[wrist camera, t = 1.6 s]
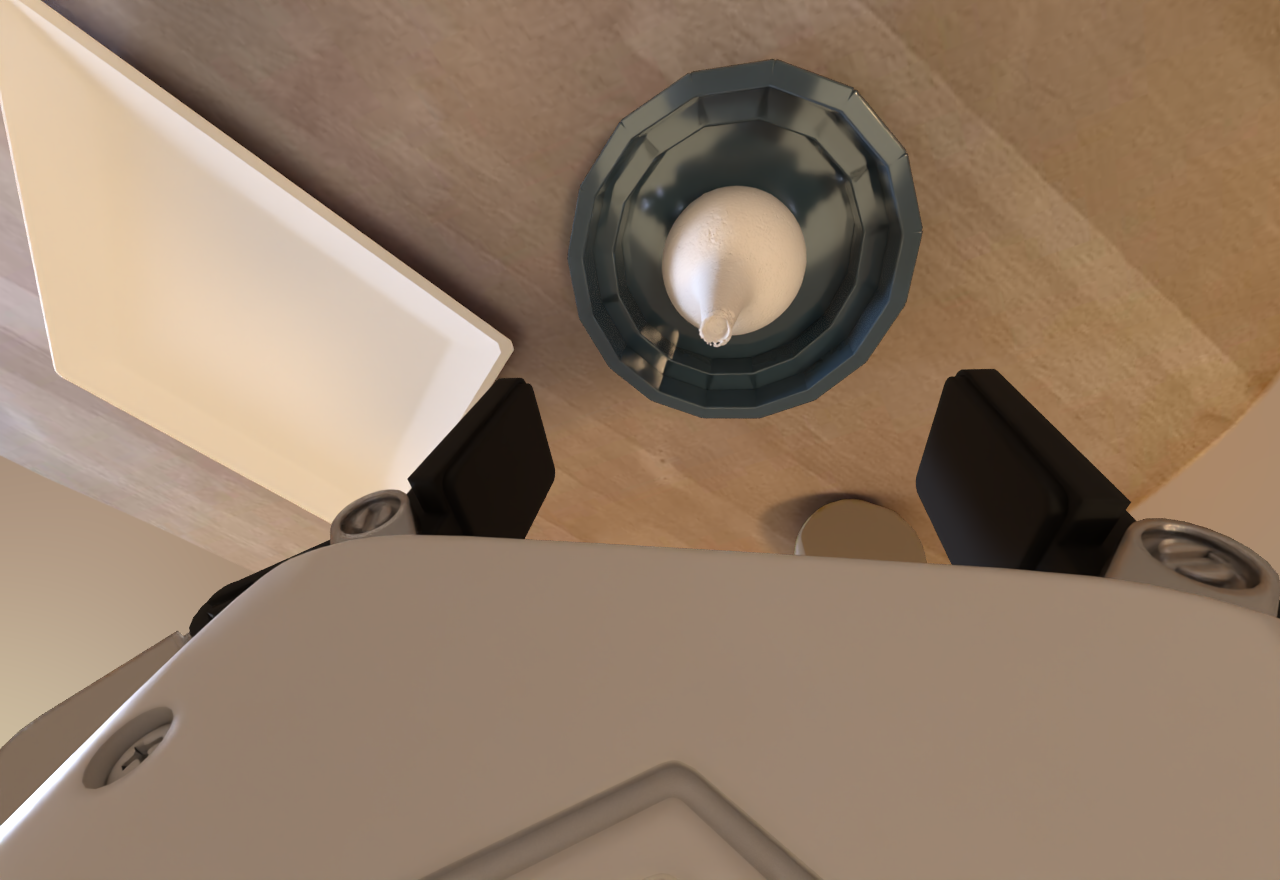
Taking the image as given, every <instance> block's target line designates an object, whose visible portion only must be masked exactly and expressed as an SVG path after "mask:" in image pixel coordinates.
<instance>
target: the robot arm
mask: <svg viewBox="0 0 1280 880" xmlns="http://www.w3.org/2000/svg"><path fill="white" fill-rule="evenodd" d="M554 478H555V467H554V463H553V460H552V456H551V452H550V449H549V445H548V441H547V438H546V434H545V431H544V427H543V423H542V420H541V416H540V412H539V409H538V405H537V401H536V398H535V394H534V390H533V388H532V386H531V385H530V384H526V382H525V381H524V379H522V378H499V379H498V380H497V381H496V382H495V383H494V384H493V385H492V386H491V387H490V388H489V389H488V391H487V392H486V393H485V394H484V395H483V396H482V397H481V398H480V399H479V400H478V402H477V403H476V404H475V405H474V406H473V407H472V408H471V409H470V410H469V411H468V413H467V414H466V415H465V416H464V417H463V418H462V419H461V420H460V421H459V422H458V423H457V425H456V426H455V427H454V428H453V429H452V430H451V431H450V432H449V433H448V434H447V436H446V437H445V438H444V439H443V440H442V441H441V442H440V443H439V444H438V445H437V447H436V448H435V449H434V450H433V451H432V452H431V453H430V454H429V455H428V456H427V458H426V459H425V460H424V461H423V462H422V463H421V464H420V465H419V466H418V467H417V469H416V470H415V471H414V472H413V473H412V474H411V475H410V476H409V477H408V478H407V480H408V482H409V483H410V485H411V487H412V488H411V489H410V490H409V492H408V493H407V494H406V493H404V492H402V491H400V490H394V489H388V490H380V491H377V492H373V493H370V494H367V495H365V496H363V497H361V498H359V499H357V500H355V501H354V502H352V503H350V504H349V505H347V506H346V507H345V508H344V509H343V510H342V511H340V512H339V513H338V515H337V516H336V517H335V519H334V520H333V522H332V525H331V529H330V540H328V541H326V542H324V543H322V544H319V545H317V546H315V547H313V548H310V549H308V550H306V551H304V552H301V553H299V554H297V555H295V556H292V557H290V558H288V559H286V560H284V561H281V562H279V563H277V564H275V565H272V566H270V567H268V568H266V569H263V570H261V571H259V572H257V573H254V574H252V575H250V576H248V577H245V578H243V579H241V580H239V581H236V582H233V583H231V584H228V585H227V586H225V587H223V588H222V589H220V590H219V591H217V592H216V593H215V594H214V595H213V596H212V597H211V598H210V599H209V600H208V601H207V603H205V604H204V605H203V606H202V607H201V608H200V610H199V611H198V613H197V614H196V615H195V616H194V617H193V620H192V622H191V625H190V627H189V629H190V632H189V633H188V634H186V635H184V636H183V635H182V634H181V633H180V632H179V631H176V632H175V633H173V634H171V635H170V636H168V637H166V638H165V639H163V640H162V641H160V642H159V643H157V644H155V645H154V646H152V647H150V648H149V649H147V650H145V651H144V652H142V653H141V654H139V655H138V656H136V657H134V658H133V659H131V660H129V661H128V662H126V663H125V664H123V665H121V666H120V667H118V668H117V669H115V670H113V671H112V672H110V673H108V674H107V675H105V676H104V677H102V678H100V679H99V680H97V681H96V682H94V683H92V684H91V685H89V686H88V687H86V688H84V689H83V690H81V691H79V692H78V693H76V694H75V695H73V696H71V697H70V698H68V699H66V700H65V701H63V702H62V703H60V704H58V705H57V706H55V707H54V708H52V709H50V710H49V711H47V712H45V713H44V714H42V715H41V716H39V717H38V718H37V719H35V720H34V721H32V722H31V723H30V724H28V725H27V726H25V727H24V728H22V729H21V730H20V731H19V732H18V733H17V734H15V735H14V736H13V737H12V738H11V739H10V740H9V741H8V742H7V743H6V744H5V745H4V746H3V747H2V748H1V749H0V880H1280V600H1279V598H1280V580H1279V576H1278V574H1277V573H1276V571H1275V570H1274V569H1273V568H1272V567H1271V565H1270V564H1269V563H1268V562H1267V561H1266V560H1265V559H1263V558H1262V557H1261V556H1259V555H1258V554H1257V553H1255V552H1254V551H1253V550H1251V549H1250V548H1248V547H1246V546H1244V545H1243V544H1241V543H1239V542H1237V541H1235V540H1234V539H1232V538H1230V537H1228V536H1225V535H1223V534H1221V533H1218V532H1215V531H1213V530H1211V529H1208V528H1205V527H1202V526H1198V525H1195V524H1191V523H1188V522H1184V521H1178V520H1171V519H1163V518H1152V519H1150V518H1149V519H1143V520H1140V521H1136V520H1135V519H1134V518H1133V517H1132V516H1131V515H1130V514H1129V513H1128V512H1127V511H1126V509H1127V507H1128V506H1129V504H1130V503H1131V502H1130V501H1129V500H1128V499H1127V498H1126V497H1125V496H1124V495H1123V494H1122V493H1121V492H1120V491H1119V490H1118V489H1117V488H1116V487H1115V486H1114V485H1113V484H1112V483H1111V482H1110V481H1109V480H1108V479H1107V478H1106V477H1105V476H1104V475H1103V474H1102V473H1101V472H1100V471H1099V470H1098V469H1097V468H1096V467H1095V466H1094V465H1093V464H1092V463H1091V462H1090V461H1089V460H1088V459H1087V458H1086V457H1085V456H1084V455H1083V454H1081V453H1080V452H1079V451H1078V450H1077V449H1076V448H1075V447H1074V446H1073V445H1072V444H1071V443H1070V442H1069V441H1068V440H1067V439H1066V438H1065V437H1064V436H1063V435H1062V434H1061V433H1060V432H1059V431H1058V430H1057V429H1056V428H1055V427H1054V426H1053V425H1052V424H1051V423H1050V422H1049V421H1048V420H1047V419H1046V418H1045V417H1044V416H1043V415H1042V414H1041V413H1040V412H1039V411H1038V410H1037V409H1036V408H1035V407H1034V406H1033V405H1032V404H1031V403H1030V402H1029V401H1028V400H1026V399H1025V398H1024V397H1023V396H1022V395H1021V394H1020V393H1019V392H1018V391H1017V390H1016V389H1015V388H1014V387H1013V386H1012V385H1011V384H1010V383H1009V382H1008V381H1007V380H1006V379H1005V378H1004V377H1003V376H1002V375H1001V374H1000V373H999V372H998V371H997V370H995V369H971V370H960V371H959V372H958V373H957V374H956V376H955V377H949V378H948V379H947V380H946V382H945V385H944V388H943V391H942V394H941V398H940V401H939V404H938V408H937V411H936V414H935V417H934V421H933V424H932V427H931V430H930V434H929V437H928V440H927V443H926V447H925V450H924V453H923V457H922V460H921V463H920V466H919V470H918V473H917V477H916V489H917V493H918V495H919V497H920V499H921V501H922V503H923V505H924V507H925V510H926V512H927V514H928V516H929V518H930V520H931V522H932V524H933V526H934V528H935V531H936V533H937V535H938V537H939V539H940V541H941V543H942V545H943V547H944V549H945V551H946V554H947V556H948V558H949V560H950V562H951V564H952V565H946V564H931V563H915V562H900V561H884V560H868V559H853V558H837V557H820V556H804V555H787V554H770V553H754V552H737V551H721V550H704V549H687V548H670V547H652V546H635V545H618V544H601V543H585V542H567V541H548V540H530V539H525V537H526V535H527V533H528V531H529V529H530V527H531V525H532V523H533V521H534V519H535V517H536V515H537V513H538V511H539V509H540V507H541V505H542V503H543V501H544V499H545V497H546V495H547V493H548V491H549V489H550V487H551V485H552V483H553V481H554Z"/></svg>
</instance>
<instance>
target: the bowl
mask: <svg viewBox="0 0 1280 880" xmlns="http://www.w3.org/2000/svg"><path fill="white" fill-rule="evenodd" d="M727 186H747V187H752V188H757V189H760V190H762V191H765V192H767V193H769V194H772V195H773V196H774V197H776V198H777V199H778V200H780V201H781V202H782V203H783V204H784V205H785V206H786V207H787V208H788V209H789V210H790V212H791V213H792V214H793V215H794V217H795V218H796V220H797V222H798V224H799V226H800V228H801V231H802V233H803V237H804V241H805V245H806V261H807V262H806V267H805V273H804V277H803V281H802V284H801V287H800V289H799V291H798V293H797V295H796V297H795V298H794V300H793V301H792V303H791V304H790V305H789V307H788V308H787V309H786V310H785V311H784V312H783V313H782V314H781V315H780V316H779V317H778V318H776V319H775V320H774V321H773V322H771V323H770V324H768V325H766V326H764V327H762V328H760V329H758V330H756V331H753V332H750V333H746V334H741V335H732V336H731V339H730V340H729V342H727V344H725V345H721V346H719V347H714V343H713V342H711V344H712V345H711V346H710V343H708V344H707V342H705V341H704V339H703V338H702V339H701V336H700V335H699V333H700V331H699V328H697V327H695V326H694V325H692V324H691V323H689V322H688V321H687V320H686V319H684V318H683V317H682V316H681V315H680V314H679V312H678V311H677V310H676V308H675V307H674V305H673V304H672V302H671V300H670V298H669V296H668V294H667V291H666V288H665V285H664V281H663V274H662V257H663V250H664V246H665V242H666V239H667V236H668V234H669V232H670V230H671V228H672V226H673V224H674V222H675V221H676V219H677V218H678V216H679V215H680V214H681V213H682V212H683V211H684V210H685V209H686V207H687V206H688V205H689V204H690V203H691V202H693V201H694V200H696V199H697V198H699V197H701V196H702V195H703V194H704V193H707V192H709V191H712V190H715V189H717V188H722V187H727ZM922 228H923V227H922V222H921V217H920V212H919V207H918V202H917V197H916V192H915V187H914V182H913V177H912V172H911V167H910V162H909V157H908V154H907V153H906V149H905V148H904V147H903V146H902V144H901V143H900V142H899V141H898V139H897V138H896V137H895V136H894V135H893V133H892V132H891V131H890V130H889V129H888V127H887V126H886V125H885V124H884V122H883V121H882V120H881V119H880V118H879V116H878V115H877V114H876V113H875V111H874V110H873V109H872V108H871V107H870V105H869V104H868V103H867V102H866V101H865V99H864V98H863V97H862V96H861V94H860V93H859V92H858V91H857V90H855V89H854V88H853V87H851V86H848V85H846V84H843V83H840V82H838V81H835V80H832V79H829V78H827V77H824V76H821V75H819V74H816V73H813V72H811V71H808V70H805V69H802V68H800V67H797V66H794V65H792V64H789V63H786V62H783V61H781V60H778V59H777V60H774V59H770V60H763V61H757V62H750V63H744V64H737V65H731V66H725V67H718V68H712V69H705V70H699V71H693V72H691V73H687V74H686V75H685V76H683V77H682V78H680V79H679V80H677V81H676V82H675V83H673V84H672V85H670V86H669V87H667V88H666V89H665V90H663V91H662V92H660V93H659V94H657V95H656V96H655V97H653V98H652V99H650V100H649V101H647V102H646V103H645V104H643V105H642V106H640V107H639V108H637V109H636V110H635V111H633V112H632V113H630V114H629V115H627V116H626V117H625V118H623V119H622V120H621V122H619V124H618V125H617V127H616V128H615V130H614V132H613V133H612V135H611V137H610V138H609V140H608V141H607V143H606V145H605V146H604V148H603V150H602V151H601V153H600V154H599V156H598V158H597V159H596V161H595V162H594V164H593V166H592V167H591V169H590V171H589V172H588V174H587V175H586V177H585V179H584V180H583V182H582V184H581V185H580V189H579V192H578V198H577V203H576V209H575V215H574V221H573V226H572V232H571V238H570V244H569V249H568V258H567V259H568V264H569V269H570V274H571V279H572V284H573V289H574V295H575V300H576V305H577V310H578V315H579V318H580V321H581V322H582V324H583V326H584V327H585V329H586V331H587V332H588V334H589V335H590V337H591V339H592V340H593V342H594V344H595V345H596V347H597V348H598V350H599V352H600V353H601V355H602V357H603V358H604V360H605V361H606V363H607V365H608V366H609V367H610V369H612V370H613V371H614V372H615V373H617V374H618V375H619V376H621V377H622V378H623V379H624V380H626V381H627V382H628V383H629V384H631V385H632V386H633V387H634V388H636V389H637V390H638V391H640V392H641V393H642V394H643V395H645V396H646V397H647V398H648V399H650V400H651V401H652V400H653V401H654V402H656V403H659V404H662V405H665V406H668V407H671V408H674V409H677V410H680V411H683V412H686V413H689V414H692V415H694V416H697V417H700V418H762V417H765V416H768V415H772V414H775V413H778V412H781V411H784V410H787V409H790V408H793V407H796V406H799V405H802V404H805V403H808V402H811V401H814V400H816V399H817V398H819V397H820V396H821V395H823V394H824V393H825V392H827V391H828V390H829V389H831V388H832V387H833V386H835V385H836V384H837V383H839V382H840V381H842V380H843V379H844V378H846V377H847V376H848V375H850V374H851V373H852V372H854V371H855V370H856V369H858V368H859V367H860V366H862V365H863V364H865V363H866V361H867V360H868V359H869V357H870V356H871V354H872V353H873V352H874V350H875V349H876V347H877V346H878V344H879V343H880V341H881V340H882V338H883V337H884V335H885V334H886V332H887V331H888V330H889V328H890V327H891V325H892V324H893V322H894V321H895V319H896V318H897V316H898V315H899V313H900V312H901V310H902V309H903V308H904V306H905V303H906V302H907V298H908V293H909V289H910V285H911V280H912V276H913V272H914V267H915V263H916V259H917V254H918V250H919V246H920V241H921V237H922V233H923V231H922ZM719 343H720V342H717V343H716V344H719Z"/></svg>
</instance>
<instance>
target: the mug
mask: <svg viewBox="0 0 1280 880" xmlns="http://www.w3.org/2000/svg"><path fill="white" fill-rule="evenodd" d="M794 555H804V556H820V557H837V558H853V559H868V560H884V561H900V562H915V563H927V561H926V557H925V552H924V549H923V546H922V543H921V541H920V539H919V537H918V536H917V534H916V532H915V531H914V529H913V528H912V527H911V526H910V525H909V524H907V523H906V522H905V521H904V520H903V519H902V518H901V517H900V516H899V515H898V514H897V513H896V512H895V511H893V510H890V509H888V508H884V507H882V506H878V505H875V504H871V503H869V502H866V501H863V500H858V499H844V500H840V501H836V502H833V503H829V504H828V505H824V506H823V507H822V508H819V509H818V510H817V511H816V512H815V513H813V514H812V515H811V516H810V517H809V518H808V519H807V521H806V522H805V523H804V524H803V526H802V528H801V530H800V532H799V534H798V537H797V540H796V544H795V550H794Z"/></svg>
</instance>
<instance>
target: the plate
mask: <svg viewBox="0 0 1280 880" xmlns="http://www.w3.org/2000/svg"><path fill="white" fill-rule="evenodd" d="M0 105H1V110H2V115H3V120H4V125H5V129H6V134H7V139H8V144H9V149H10V154H11V159H12V164H13V169H14V174H15V179H16V184H17V189H18V194H19V199H20V203H21V208H22V213H23V218H24V223H25V228H26V233H27V238H28V243H29V248H30V253H31V258H32V263H33V268H34V272H35V277H36V282H37V287H38V292H39V297H40V302H41V307H42V312H43V317H44V322H45V327H46V332H47V337H48V342H49V346H50V351H51V356H52V361H53V366H54V370H55V371H56V372H57V373H58V374H59V375H60V376H61V377H62V378H64V379H66V380H68V381H70V382H72V383H73V384H75V385H77V386H79V387H81V388H83V389H84V390H86V391H88V392H90V393H92V394H94V395H95V396H97V397H99V398H101V399H103V400H105V401H106V402H108V403H110V404H112V405H114V406H116V407H117V408H119V409H121V410H123V411H125V412H127V413H129V414H130V415H132V416H134V417H136V418H138V419H140V420H141V421H143V422H145V423H147V424H149V425H151V426H152V427H154V428H156V429H158V430H160V431H162V432H163V433H165V434H167V435H169V436H171V437H173V438H174V439H176V440H178V441H180V442H182V443H184V444H185V445H187V446H189V447H191V448H193V449H195V450H197V451H198V452H200V453H202V454H204V455H206V456H208V457H209V458H211V459H213V460H215V461H217V462H219V463H220V464H222V465H224V466H226V467H228V468H230V469H231V470H233V471H235V472H237V473H239V474H241V475H242V476H244V477H246V478H248V479H250V480H252V481H253V482H255V483H257V484H259V485H261V486H263V487H264V488H266V489H268V490H270V491H272V492H274V493H276V494H277V495H279V496H281V497H283V498H285V499H287V500H288V501H290V502H292V503H294V504H296V505H298V506H299V507H301V508H303V509H305V510H307V511H309V512H310V513H312V514H314V515H316V516H318V517H320V518H321V519H323V520H325V521H327V522H329V523H331V524H332V522H333V520H334V519H335V517H336V516H337V515H338V513H339V512H340V511H342V510H343V509H344V508H345V507H346V506H347V505H349V504H350V503H352V502H354V501H355V500H357V499H359V498H361V497H363V496H365V495H367V494H370V493H373V492H377V491H380V490H388V489H394V490H400V491H402V492H404V493H406V494H407V493H408V492H409V490H410V489H411V488H412V487H411V485H410V483H409V482H408V480H407V478H408V477H409V476H410V475H411V474H412V473H413V472H414V471H415V470H416V469H417V467H418V466H419V465H420V464H421V463H422V462H423V461H424V460H425V459H426V458H427V456H428V455H429V454H430V453H431V452H432V451H433V450H434V449H435V448H436V447H437V445H438V444H439V443H440V442H441V441H442V440H443V439H444V438H445V437H446V436H447V434H448V433H449V432H450V431H451V430H452V429H453V428H454V427H455V426H456V425H457V423H458V422H459V421H460V420H461V419H462V418H463V417H464V416H465V415H466V414H467V413H468V411H469V410H470V409H471V408H472V407H473V406H474V405H475V404H476V403H477V402H478V400H479V399H480V398H481V397H482V396H483V395H484V394H485V393H486V392H487V391H488V389H489V388H490V387H491V386H492V384H493V382H494V381H495V379H496V378H497V376H498V374H499V373H500V371H501V370H502V368H503V367H504V365H505V363H506V362H507V360H508V359H509V357H510V355H511V354H512V352H513V351H514V348H513V345H512V342H511V340H510V339H508V338H507V337H505V336H504V335H503V334H501V333H500V332H498V331H497V330H496V329H494V328H493V327H492V326H490V325H489V324H487V323H486V322H485V321H483V320H482V319H481V318H479V317H478V316H476V315H475V314H474V313H472V312H471V311H469V310H468V309H467V308H465V307H464V306H463V305H461V304H460V303H458V302H457V301H456V300H454V299H453V298H451V297H450V296H449V295H447V294H446V293H445V292H443V291H442V290H440V289H439V288H438V287H436V286H435V285H434V284H432V283H431V282H429V281H428V280H427V279H425V278H424V277H422V276H421V275H420V274H418V273H417V272H416V271H414V270H413V269H411V268H410V267H409V266H407V265H406V264H404V263H403V262H402V261H400V260H399V259H398V258H396V257H395V256H393V255H392V254H391V253H389V252H388V251H387V250H385V249H384V248H382V247H381V246H380V245H378V244H377V243H375V242H374V241H373V240H371V239H370V238H369V237H367V236H366V235H364V234H363V233H362V232H360V231H359V230H357V229H356V228H355V227H353V226H352V225H351V224H349V223H348V222H346V221H345V220H344V219H342V218H341V217H340V216H338V215H337V214H335V213H334V212H333V211H331V210H330V209H328V208H327V207H326V206H324V205H323V204H322V203H320V202H319V201H317V200H316V199H315V198H313V197H312V196H310V195H309V194H308V193H306V192H305V191H304V190H302V189H301V188H299V187H298V186H297V185H295V184H294V183H293V182H291V181H290V180H288V179H287V178H286V177H284V176H283V175H281V174H280V173H279V172H277V171H276V170H275V169H273V168H272V167H270V166H269V165H268V164H266V163H265V162H263V161H262V160H261V159H259V158H258V157H257V156H255V155H254V154H252V153H251V152H250V151H248V150H247V149H246V148H244V147H243V146H241V145H240V144H239V143H237V142H236V141H234V140H233V139H232V138H230V137H229V136H228V135H226V134H225V133H223V132H222V131H221V130H219V129H218V128H217V127H215V126H214V125H212V124H211V123H210V122H208V121H207V120H205V119H204V118H203V117H201V116H200V115H199V114H197V113H196V112H194V111H193V110H192V109H190V108H189V107H187V106H186V105H185V104H183V103H182V102H181V101H179V100H178V99H176V98H175V97H174V96H172V95H171V94H170V93H168V92H167V91H165V90H164V89H163V88H161V87H160V86H158V85H157V84H156V83H154V82H153V81H152V80H150V79H149V78H147V77H146V76H145V75H143V74H142V73H140V72H139V71H138V70H136V69H135V68H134V67H132V66H131V65H129V64H128V63H127V62H125V61H124V60H123V59H121V58H120V57H118V56H117V55H116V54H114V53H113V52H111V51H110V50H109V49H107V48H106V47H105V46H103V45H102V44H100V43H99V42H98V41H96V40H95V39H93V38H92V37H91V36H89V35H88V34H87V33H85V32H84V31H82V30H81V29H80V28H78V27H77V26H76V25H74V24H73V23H71V22H70V21H69V20H67V19H66V18H64V17H63V16H62V15H60V14H59V13H58V12H56V11H55V10H53V9H52V8H51V7H49V6H48V5H46V4H45V3H44V2H42V1H41V0H0Z"/></svg>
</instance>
